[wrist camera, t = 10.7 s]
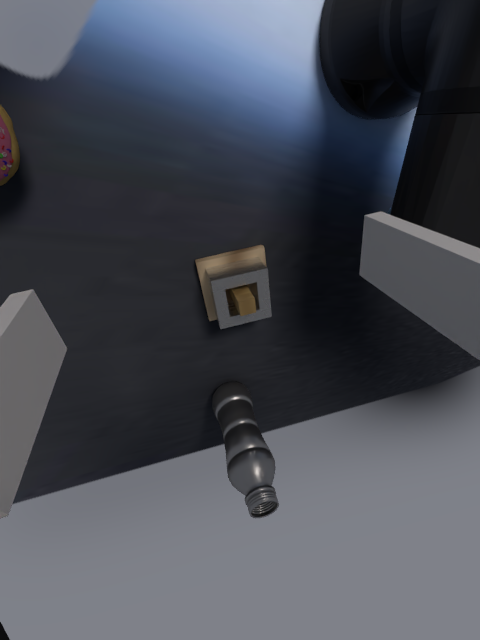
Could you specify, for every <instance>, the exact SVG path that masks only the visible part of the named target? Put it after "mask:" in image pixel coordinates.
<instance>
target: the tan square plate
mask: <svg viewBox="0 0 480 640" xmlns="http://www.w3.org/2000/svg"><path fill="white" fill-rule="evenodd" d="M254 257H259V259H260V260H261V261H262V262H263V263H264V265H265V266H266V260H265V249H264V246H263V245H258V246H254V247H249V248H245V249H240V250H236V251H232V252H227V253H223V254H218V255H214V256H210V257H205V258H201V259H196V260H195V262H196V266H197V271H198V275H199V279H200V283H201V288H202V292H203V296H204V301H205V305H206V309H207V314H208V318H209V321H213V320H217V319H216V316H215V312H214V307H213V302H212V298H211V293H210V288H209V283H208V278H207V273H206V269H205V268H209V267H213V266H218V265H222V264H227V263H231V262H236V261H240V260H245V259H249V258H254ZM225 292H226V297H227V301H231V300H233V302H234V304H235V306H236V308H237V310H238V312H239V314H240V316H244V315H248V314H252V313H256V305H255V298H254V296H253V295H252V293H251V289H250V284H247V285H243V286H238V287H234V288H230V289H226V290H225Z"/></svg>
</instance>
